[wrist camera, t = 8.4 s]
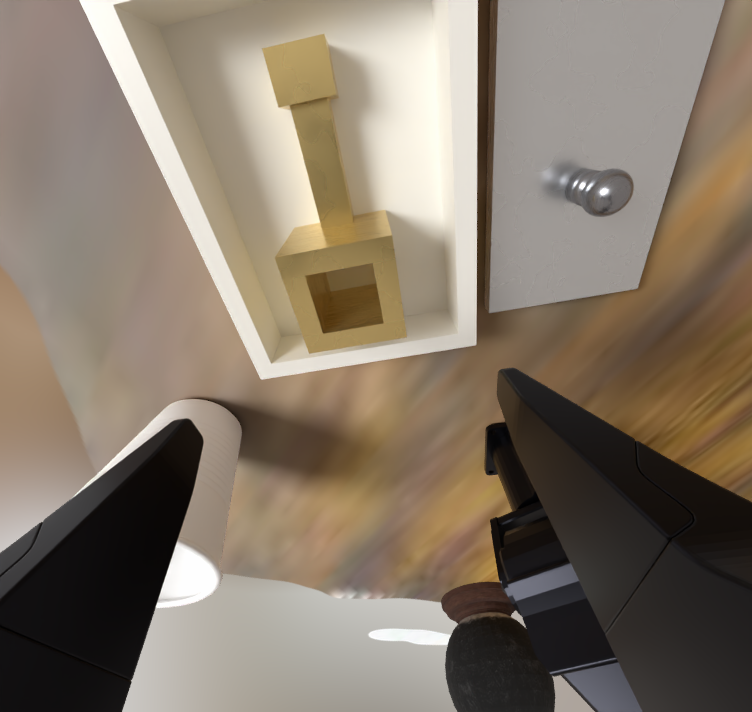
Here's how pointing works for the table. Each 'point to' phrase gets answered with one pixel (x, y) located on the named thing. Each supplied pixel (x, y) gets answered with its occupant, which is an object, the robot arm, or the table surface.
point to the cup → (197, 499)
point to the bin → (285, 160)
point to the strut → (331, 216)
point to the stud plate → (584, 139)
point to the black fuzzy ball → (492, 655)
